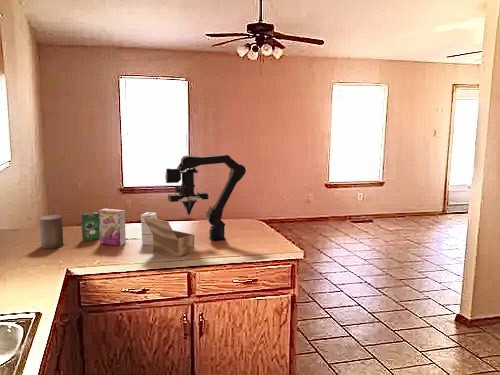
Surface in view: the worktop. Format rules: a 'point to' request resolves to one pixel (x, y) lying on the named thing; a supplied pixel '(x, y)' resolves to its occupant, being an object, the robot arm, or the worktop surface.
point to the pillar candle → (51, 231)
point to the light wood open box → (174, 244)
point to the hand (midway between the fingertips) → (188, 214)
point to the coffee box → (90, 226)
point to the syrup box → (147, 229)
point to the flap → (160, 227)
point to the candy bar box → (112, 227)
